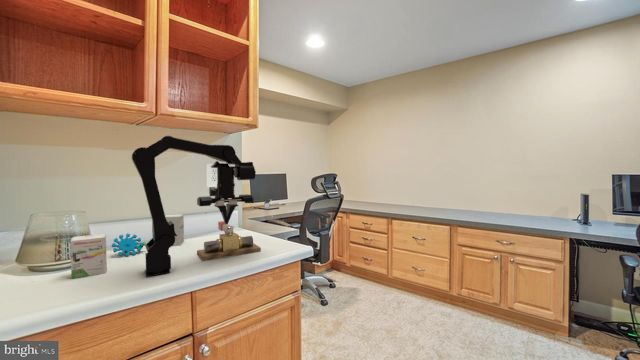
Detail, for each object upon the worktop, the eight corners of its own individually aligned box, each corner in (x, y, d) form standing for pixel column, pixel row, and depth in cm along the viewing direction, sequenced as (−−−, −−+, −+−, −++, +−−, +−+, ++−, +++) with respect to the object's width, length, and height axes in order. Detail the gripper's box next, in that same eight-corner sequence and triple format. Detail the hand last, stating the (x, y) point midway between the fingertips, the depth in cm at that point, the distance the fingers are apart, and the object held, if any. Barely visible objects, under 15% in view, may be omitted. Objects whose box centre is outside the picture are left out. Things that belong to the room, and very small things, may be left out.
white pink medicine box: (70, 279, 86) (69, 240, 85) (73, 274, 90) (71, 236, 89) (106, 273, 90) (105, 236, 90) (107, 268, 95) (106, 233, 94)
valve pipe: (206, 255, 105) (206, 239, 105) (203, 252, 110) (203, 236, 110) (254, 248, 115) (253, 233, 114) (249, 245, 119) (249, 230, 119)
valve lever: (234, 234, 112) (234, 226, 111) (226, 235, 110) (225, 227, 110) (225, 228, 123) (225, 221, 123) (217, 228, 121) (217, 221, 121)
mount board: (201, 261, 102) (201, 256, 102) (196, 254, 111) (196, 250, 111) (260, 251, 114) (260, 247, 114) (252, 245, 122) (252, 242, 122)
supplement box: (180, 245, 123) (180, 216, 123) (161, 246, 121) (161, 217, 121) (184, 241, 130) (184, 213, 130) (166, 242, 129) (166, 214, 128)
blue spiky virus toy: (110, 255, 104) (113, 232, 110) (109, 264, 107) (111, 241, 113) (146, 254, 110) (146, 232, 116) (143, 262, 114) (143, 240, 120)
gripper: (244, 179, 115) (244, 218, 115) (194, 180, 105) (194, 223, 105) (253, 180, 105) (254, 222, 106) (199, 181, 95) (200, 228, 96)
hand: (226, 223), depth 103 cm, fingers closed
